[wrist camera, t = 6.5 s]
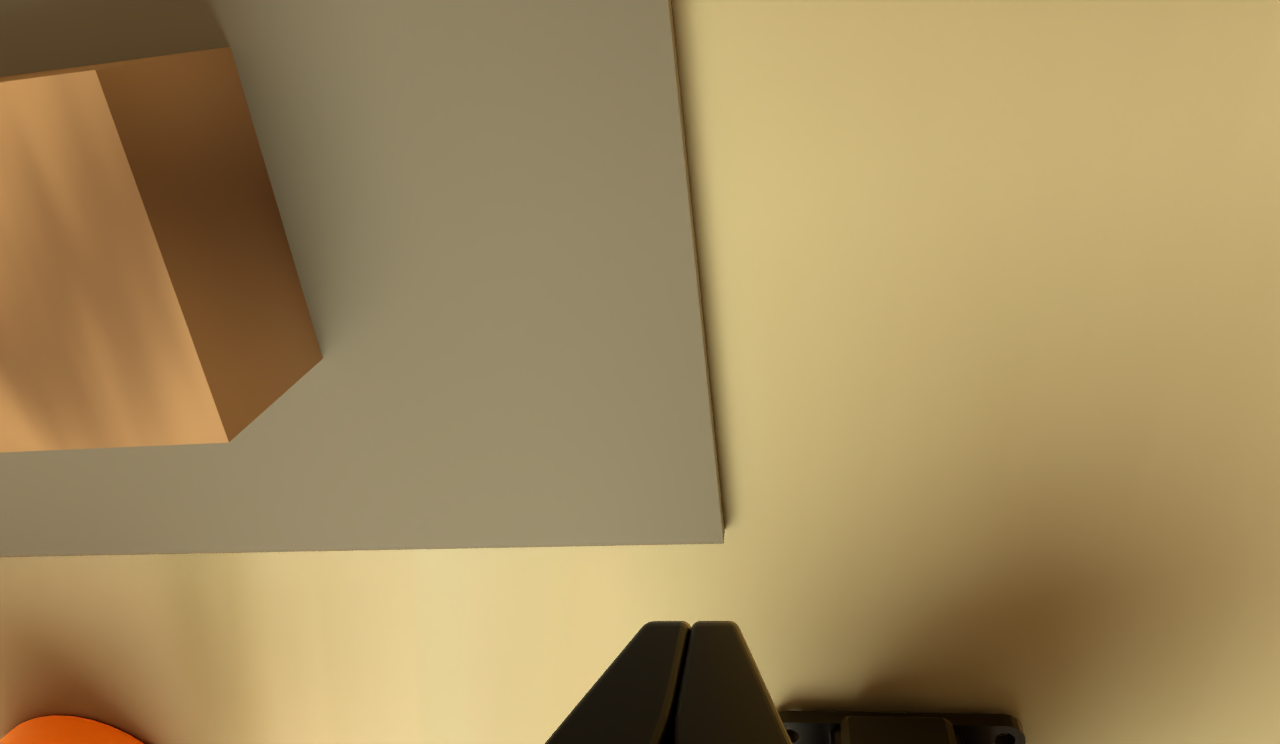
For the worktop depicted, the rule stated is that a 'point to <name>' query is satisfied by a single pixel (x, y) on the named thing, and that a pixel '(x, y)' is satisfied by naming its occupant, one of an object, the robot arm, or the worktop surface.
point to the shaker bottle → (66, 732)
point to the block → (140, 259)
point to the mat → (427, 286)
